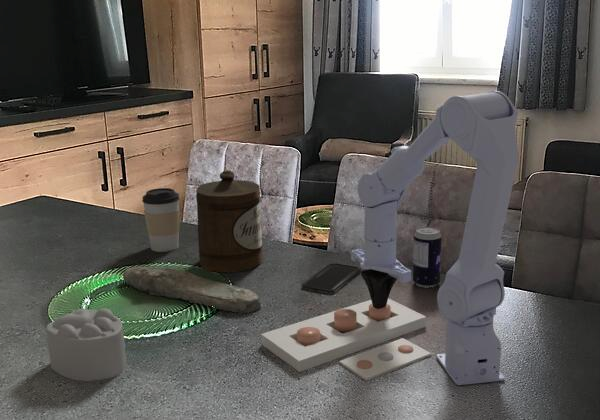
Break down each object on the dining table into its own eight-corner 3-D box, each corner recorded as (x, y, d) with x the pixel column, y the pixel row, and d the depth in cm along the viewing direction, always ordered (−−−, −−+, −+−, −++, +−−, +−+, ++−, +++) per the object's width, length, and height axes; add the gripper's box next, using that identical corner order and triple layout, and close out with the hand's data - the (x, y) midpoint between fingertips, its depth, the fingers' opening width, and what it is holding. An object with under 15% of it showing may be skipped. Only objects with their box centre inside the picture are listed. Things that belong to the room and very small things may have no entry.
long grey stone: (242, 328, 131) (271, 311, 139) (243, 302, 129) (272, 286, 138) (110, 286, 147) (142, 273, 156) (109, 263, 146) (142, 251, 154)
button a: (380, 312, 130) (380, 300, 129) (394, 320, 126) (395, 307, 126) (364, 318, 127) (364, 305, 127) (378, 325, 124) (378, 313, 123)
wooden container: (255, 274, 153) (251, 178, 147) (191, 271, 155) (185, 177, 149) (268, 252, 167) (265, 164, 161) (210, 250, 169) (204, 163, 163)
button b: (347, 319, 125) (347, 307, 124) (361, 327, 122) (361, 314, 121) (329, 325, 123) (329, 312, 122) (343, 333, 120) (343, 320, 119)
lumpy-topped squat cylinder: (93, 342, 123) (87, 298, 120) (142, 362, 115) (137, 314, 113) (42, 366, 115) (35, 319, 112) (92, 389, 107) (86, 339, 105)
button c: (311, 337, 121) (311, 324, 120) (324, 346, 118) (324, 333, 117) (292, 344, 119) (292, 330, 118) (305, 352, 116) (305, 339, 115)
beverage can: (439, 290, 142) (441, 235, 138) (412, 288, 143) (413, 234, 140) (439, 279, 147) (441, 226, 144) (413, 278, 148) (414, 225, 145)
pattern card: (402, 340, 121) (402, 337, 120) (430, 355, 115) (430, 352, 115) (339, 363, 113) (339, 359, 113) (366, 380, 108) (366, 377, 107)
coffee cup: (143, 245, 174) (137, 188, 170) (177, 239, 178) (173, 183, 174) (151, 255, 166) (146, 196, 162) (187, 249, 170) (183, 191, 166)
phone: (362, 267, 153) (333, 291, 141) (362, 272, 154) (333, 296, 141) (331, 262, 157) (299, 284, 144) (331, 267, 157) (299, 289, 145)
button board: (383, 305, 135) (383, 295, 135) (425, 326, 125) (426, 316, 125) (261, 344, 120) (261, 334, 120) (299, 372, 111) (299, 361, 110)
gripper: (338, 231, 126) (338, 299, 130) (390, 252, 114) (388, 326, 118) (367, 224, 130) (367, 290, 134) (421, 244, 118) (418, 316, 122)
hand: (379, 307), depth 126 cm, fingers closed, pressing on button a
